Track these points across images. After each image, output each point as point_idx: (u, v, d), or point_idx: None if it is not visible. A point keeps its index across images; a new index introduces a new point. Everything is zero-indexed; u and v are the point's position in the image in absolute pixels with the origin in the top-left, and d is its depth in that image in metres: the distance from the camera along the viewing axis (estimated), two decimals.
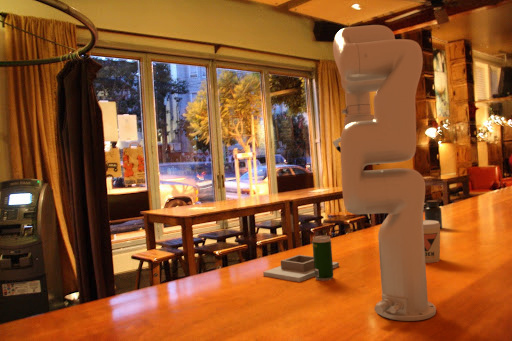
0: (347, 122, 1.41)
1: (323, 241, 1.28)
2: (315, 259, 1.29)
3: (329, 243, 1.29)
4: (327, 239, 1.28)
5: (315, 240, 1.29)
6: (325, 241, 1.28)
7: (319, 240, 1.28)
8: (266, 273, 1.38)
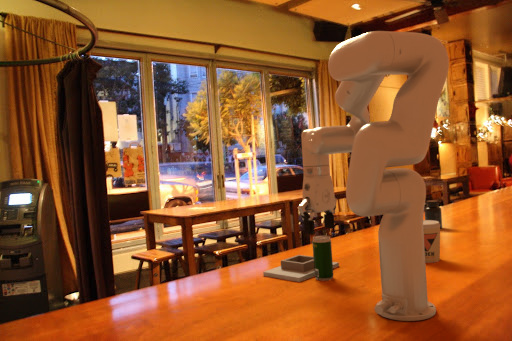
0: (315, 184, 1.26)
1: (323, 241, 1.28)
2: (315, 259, 1.29)
3: (329, 243, 1.29)
4: (327, 239, 1.28)
5: (315, 240, 1.29)
6: (325, 241, 1.28)
7: (319, 240, 1.28)
8: (266, 273, 1.38)
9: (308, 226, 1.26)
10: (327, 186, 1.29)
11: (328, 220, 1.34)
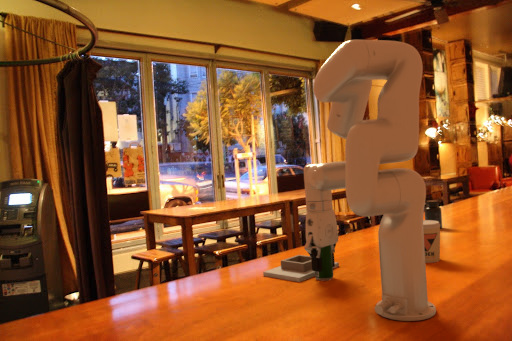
0: (318, 219, 1.26)
1: None
2: None
3: None
4: None
5: None
6: None
7: None
8: (266, 273, 1.38)
9: (316, 264, 1.27)
10: (330, 221, 1.29)
11: None
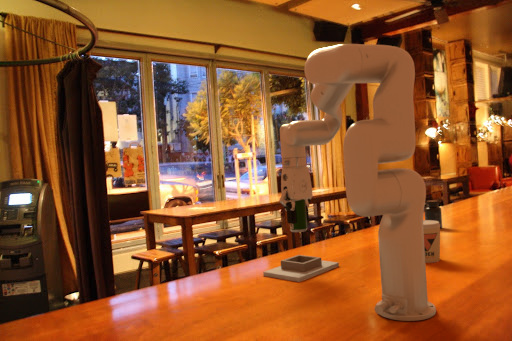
0: (292, 174, 1.35)
1: None
2: None
3: None
4: None
5: None
6: None
7: None
8: (266, 273, 1.38)
9: (290, 216, 1.37)
10: (304, 176, 1.39)
11: None
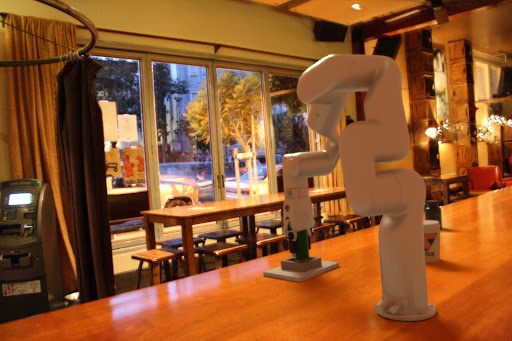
0: (295, 205, 1.36)
1: None
2: None
3: None
4: None
5: None
6: None
7: None
8: (266, 273, 1.38)
9: (292, 246, 1.37)
10: (306, 206, 1.39)
11: None
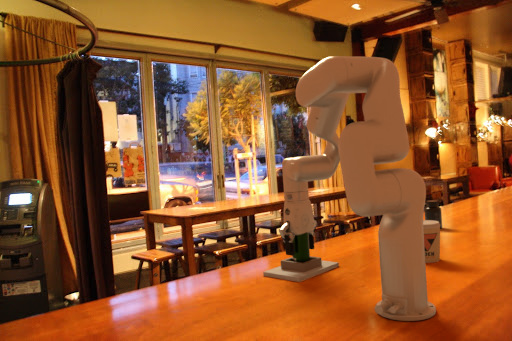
0: (295, 209, 1.36)
1: None
2: None
3: (306, 234, 1.39)
4: None
5: None
6: None
7: None
8: (266, 273, 1.38)
9: (289, 248, 1.36)
10: (306, 210, 1.39)
11: None
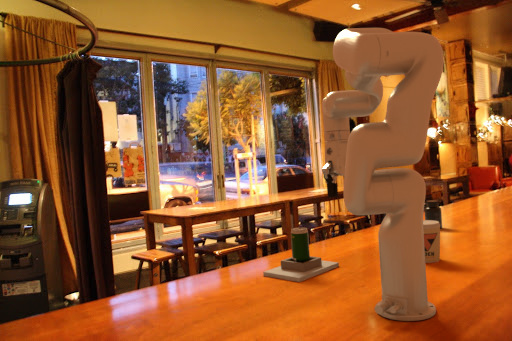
0: (338, 148, 1.30)
1: (300, 232, 1.38)
2: (293, 249, 1.39)
3: (306, 234, 1.39)
4: (304, 230, 1.38)
5: (293, 231, 1.39)
6: (302, 232, 1.38)
7: (296, 231, 1.38)
8: (266, 273, 1.38)
9: (331, 189, 1.30)
10: None
11: None
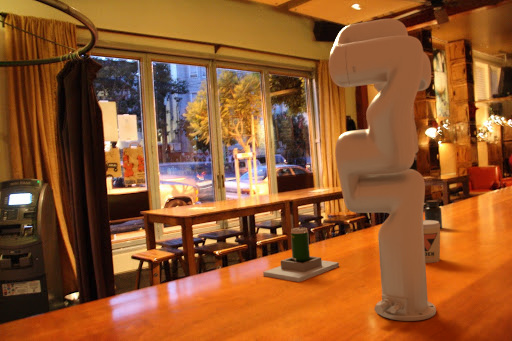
0: None
1: (300, 232, 1.38)
2: (293, 249, 1.39)
3: (306, 234, 1.39)
4: (304, 230, 1.38)
5: (293, 231, 1.39)
6: (302, 232, 1.38)
7: (297, 231, 1.38)
8: (266, 273, 1.38)
9: None
10: None
11: (410, 165, 1.30)
